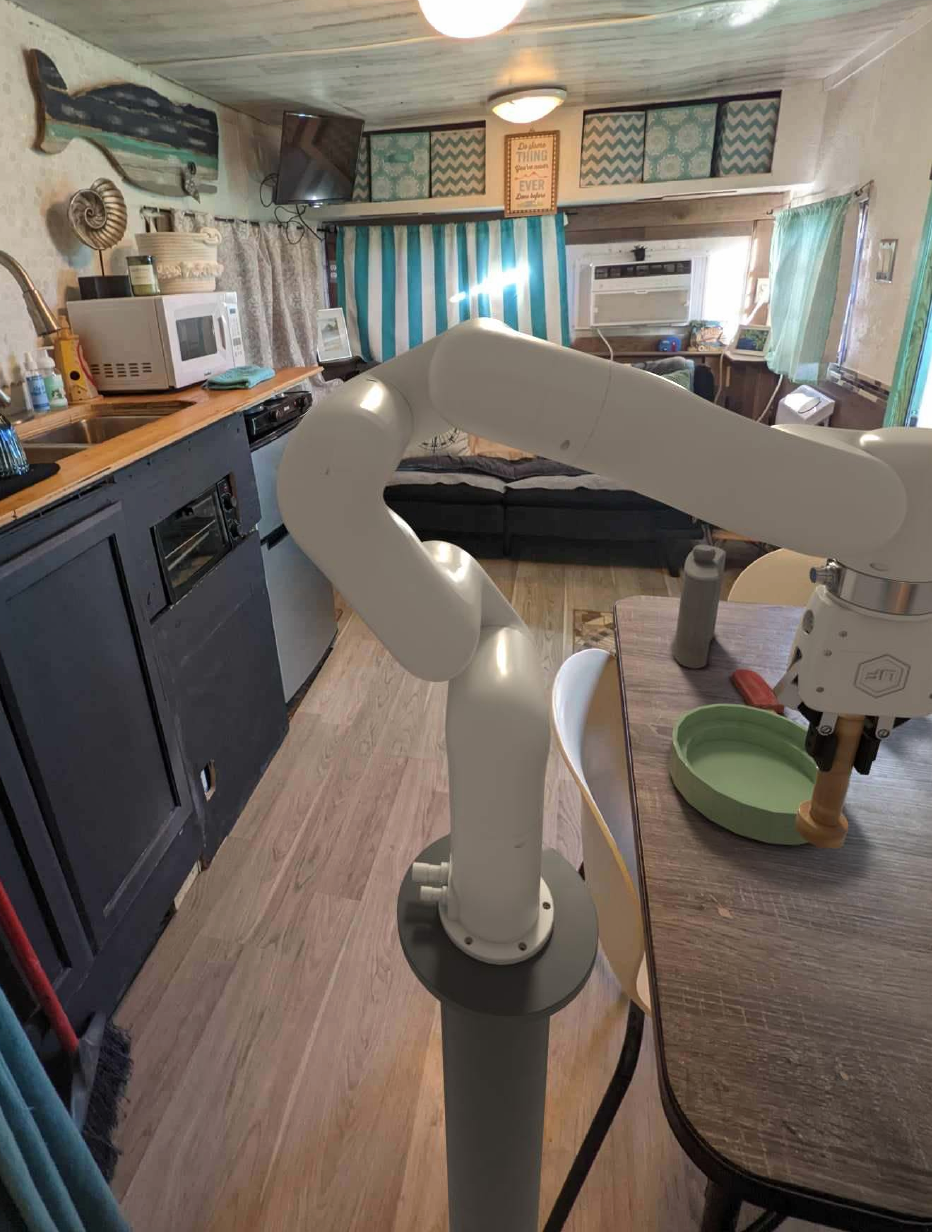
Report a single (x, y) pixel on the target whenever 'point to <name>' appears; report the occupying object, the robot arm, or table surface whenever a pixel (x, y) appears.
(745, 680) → the popsicle
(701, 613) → the flask
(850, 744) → the wooden peg
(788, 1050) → the table surface
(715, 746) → the bowl
